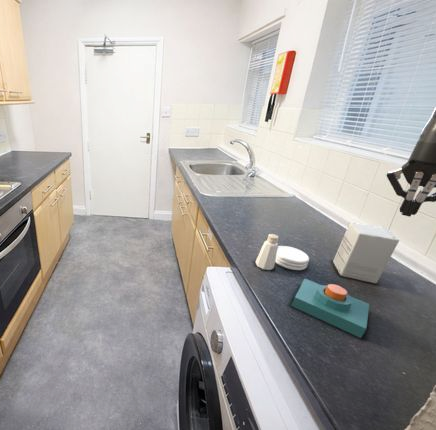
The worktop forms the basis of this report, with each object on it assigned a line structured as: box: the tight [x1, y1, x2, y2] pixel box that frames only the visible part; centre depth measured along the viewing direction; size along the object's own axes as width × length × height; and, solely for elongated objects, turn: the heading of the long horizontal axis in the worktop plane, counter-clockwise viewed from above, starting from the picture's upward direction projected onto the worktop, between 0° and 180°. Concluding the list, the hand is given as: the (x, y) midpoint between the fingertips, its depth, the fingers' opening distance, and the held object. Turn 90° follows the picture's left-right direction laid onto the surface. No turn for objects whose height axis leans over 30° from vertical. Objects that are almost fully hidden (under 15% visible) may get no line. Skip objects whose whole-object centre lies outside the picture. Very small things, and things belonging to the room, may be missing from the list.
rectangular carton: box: [332, 221, 400, 284], centre depth 80 cm, size 9×9×15 cm
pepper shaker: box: [255, 233, 279, 271], centre depth 83 cm, size 5×5×11 cm
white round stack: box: [275, 245, 310, 271], centre depth 87 cm, size 10×10×4 cm
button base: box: [291, 278, 370, 339], centre depth 67 cm, size 14×11×5 cm
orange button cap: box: [325, 283, 348, 301], centre depth 66 cm, size 4×4×2 cm
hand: (405, 214), depth 63 cm, fingers closed
